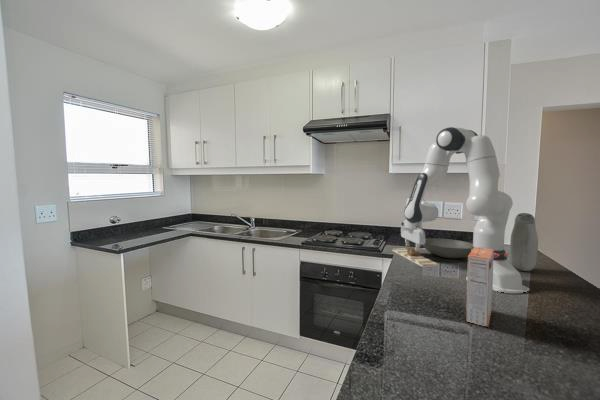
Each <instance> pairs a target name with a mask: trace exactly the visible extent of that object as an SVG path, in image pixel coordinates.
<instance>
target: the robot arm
mask: <svg viewBox="0 0 600 400" xmlns="http://www.w3.org/2000/svg"><path fill="white" fill-rule="evenodd" d="M454 154H464V157H465V162H466V167H467V172H468V177H469V188H468V197H467V198H466V202H465V206H466V210H467V211H468V212H469V213H470V214H471V215H473V216H475V217H478V218H477V222H476V224H475V225H474V227H473V234H472V235H473V237H472V244H473V246H472V249H471V251H472V250H473V248H474V247H479V248H486V249H493V250H494V258H493V290H492V291H494V292H497V291H498V292H497V293H501V292H504V293H503V294H524V293H523V292H526V293H528V292H527V291H529V290H530V287H528V286H525V285H524V284H523V278H522V275H521V273H520V272H519V270H518V269H516V268H514V267H513V266H512V264H511V262H509V260H508V256H510V253H506V250H505V248H504V247H505V233H506V227H507V223H508V219H509V215H510V211H511V209H512V207H513V205H514V202H513V198H512V197H511V196H510V195H508V193H506V192H504V191H501V190H500V191H499V179H500V176H501V173H500V168H499V164H498V163H499V162H498V160H497V155H496V150H495V147H494V146H493V143H492V141H491V139H490V137H489V136H488V135H483V134H481V135H478V133H476V132H475V131H473V130H471V129H466V128H462V127H452V126H450V127H446V128H443V129H441V130H440V131H439V132H438V134H437V135H436V137H435V142H433V143H432V144H431V145H430V146H429V149H428V151H427V153H426V157H425V161H424V165H423V168H422V170H421V172H420V174H418V176H417V177H416V180H415V182H414V185H413V187H412V190H411V193H410V197H408V198H406V203H405V207H404V210H403V215H404V220H403V221H401V222H400V226H401V227H400V236H401V238H402V239H404V241H405V247H407V248H409V247H410V246H411V244H410V242H412V243H414V244H415V246H414V247H415V249H414V250H415V251H419V252H420V247H421V246H423V245H424V244H425V239H426V232H425V229H423V227H422V226H423V225H422V224H423V223H424V222H426V223H427V222H433V221H435V220H436V219H437V218H438V217H439V210H438V208H437V206H436V205H435V204H433V203H430V202H427V201H426V200H424V196H425V193H426V192H427V191H426V190H427V189H428V188H429V187H430V186H432V185H434V184H435V183H438V182H440V181H442V180H443V179H444V178H446V176H447V173H448V170H449V166H450V160H451V158H452V156H453V155H454ZM465 280H466V281H467V276H466V277H465ZM529 292H530V291H529Z"/></svg>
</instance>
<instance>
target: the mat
mask: <svg viewBox="0 0 600 400" xmlns="http://www.w3.org/2000/svg"><path fill="white" fill-rule="evenodd" d="M391 251H392V252H394V253H395V254H397V255H400V256H401V257H403V258H405V259H407V260H409V261H410V262H412V263H414V264H416V265H418V266H419V267H423V266H422V265H420V264H418V263H416V262H414V261H412V260H411V259H409V258H407V257H405V256H403V255H401V254H399V253H397V252H396V251H394V250H393V249H391ZM439 266H440V265H439V264H437V266H436V267H439Z"/></svg>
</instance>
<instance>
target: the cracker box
mask: <svg viewBox="0 0 600 400" xmlns="http://www.w3.org/2000/svg"><path fill="white" fill-rule="evenodd" d="M493 258H494V250H493V249H486V248H479V247H474V248H473V250H472V251H471V253H470V254H469V255H468V256H467V273H466V274H467V276H466V277H467V280H466V281H467V282H466V315H465V316H466V319H465V320H466V321H467V322H470V323H469V324H471V323H474V324H473V325H475V324H477V325H476V326H479V325H482V326H487V327H488V328H489V326H490V325H489V324H490V320H491V317H490V316H492V312H491V311H492V309H493V291H494V290H493ZM467 322H466V323H467ZM482 326H481V327H482Z"/></svg>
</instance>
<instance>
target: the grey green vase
mask: <svg viewBox="0 0 600 400" xmlns="http://www.w3.org/2000/svg"><path fill="white" fill-rule="evenodd" d="M509 242H510V247H509V251H510V252H509V261H510V264H511V265H512V266H513V267H514V268H515V269H516V270H517V271H522V272H530V271H532V270H533V269H535V267H536V265H537V261H538V249H539V236H538V232H537V228H536V219H535V217H534V215H533V214H530V213H528V212H521V213H518V214H517V215H516V216H515V218H514V223H513V227H512V232H511V234H510V241H509Z"/></svg>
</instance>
